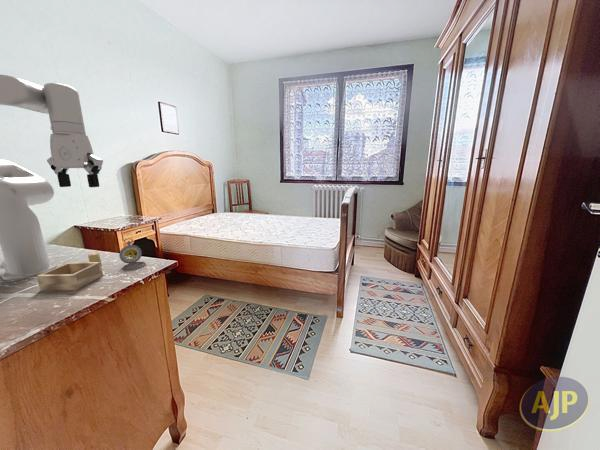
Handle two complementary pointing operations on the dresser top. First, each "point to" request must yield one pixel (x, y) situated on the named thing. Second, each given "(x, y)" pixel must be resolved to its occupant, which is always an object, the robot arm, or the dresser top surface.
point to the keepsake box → (70, 276)
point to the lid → (94, 257)
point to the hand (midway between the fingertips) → (80, 186)
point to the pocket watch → (131, 255)
